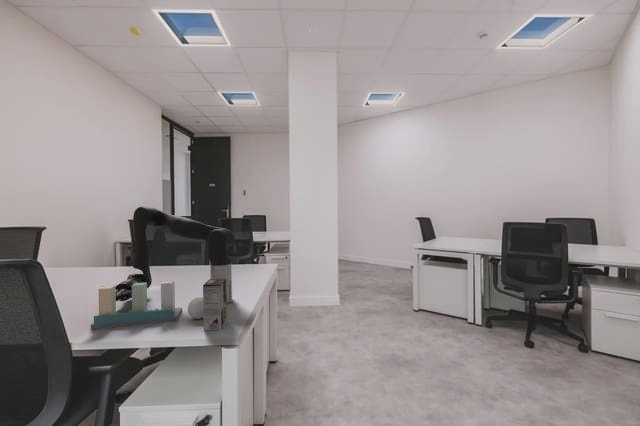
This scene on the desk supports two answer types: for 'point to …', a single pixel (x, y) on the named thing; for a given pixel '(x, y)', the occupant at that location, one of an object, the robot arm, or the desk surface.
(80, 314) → the desk surface
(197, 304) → the ball
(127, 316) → the keypad base
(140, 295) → the key sage
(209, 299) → the coffee box
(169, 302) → the light grey tall block
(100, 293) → the block
